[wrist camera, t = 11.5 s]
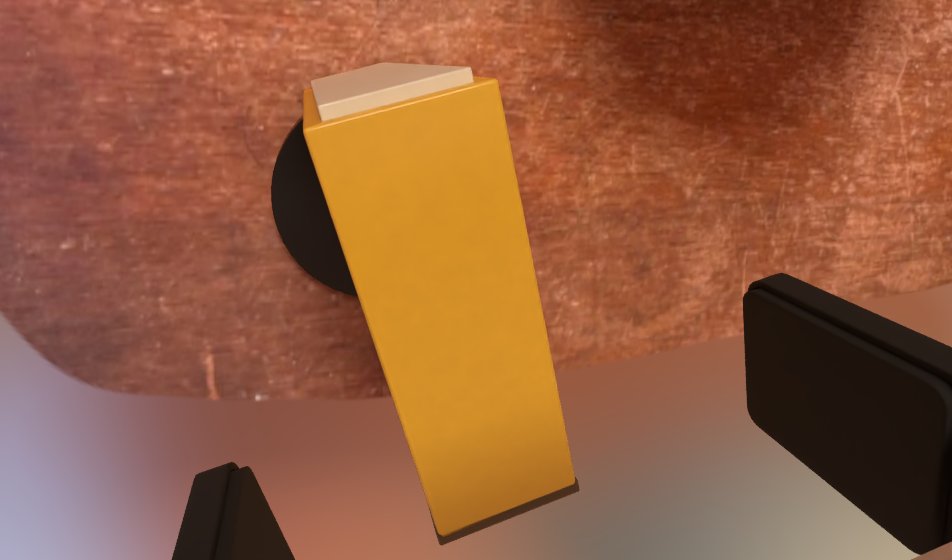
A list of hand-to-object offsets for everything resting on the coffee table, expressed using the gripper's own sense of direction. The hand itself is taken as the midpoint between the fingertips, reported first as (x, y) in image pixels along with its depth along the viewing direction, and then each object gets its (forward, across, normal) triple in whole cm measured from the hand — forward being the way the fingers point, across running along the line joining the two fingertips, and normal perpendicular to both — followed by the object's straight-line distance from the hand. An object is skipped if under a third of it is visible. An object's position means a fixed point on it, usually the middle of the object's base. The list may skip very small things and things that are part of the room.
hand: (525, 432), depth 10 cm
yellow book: (+19, 0, 0) cm, 19 cm away
